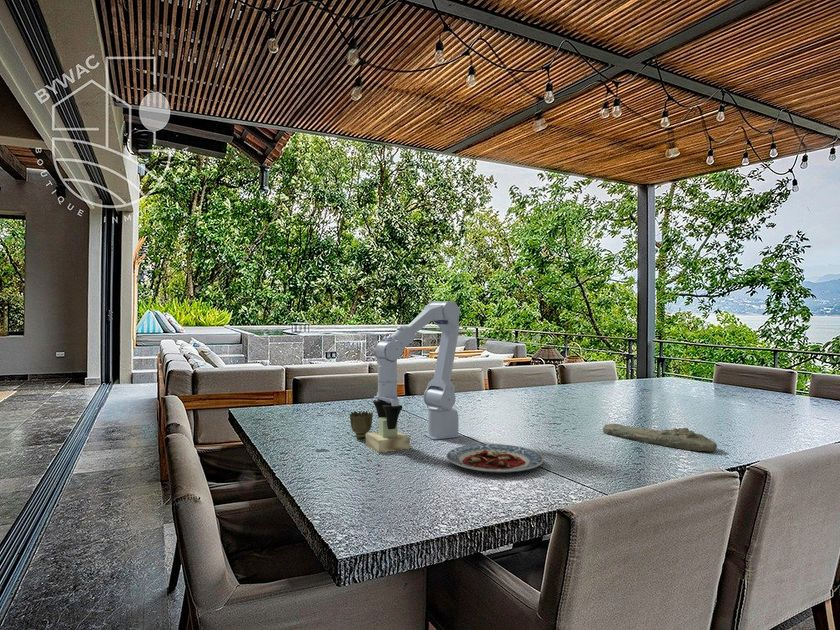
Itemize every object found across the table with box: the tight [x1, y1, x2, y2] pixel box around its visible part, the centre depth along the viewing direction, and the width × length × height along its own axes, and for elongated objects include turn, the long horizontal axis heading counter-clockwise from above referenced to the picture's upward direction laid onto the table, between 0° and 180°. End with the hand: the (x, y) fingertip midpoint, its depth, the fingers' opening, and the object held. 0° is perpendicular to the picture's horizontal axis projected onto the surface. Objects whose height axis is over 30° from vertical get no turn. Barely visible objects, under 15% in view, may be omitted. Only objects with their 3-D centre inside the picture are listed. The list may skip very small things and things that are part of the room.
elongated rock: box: [602, 423, 718, 452], centre depth 166 cm, size 35×5×10 cm
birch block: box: [365, 431, 411, 454], centre depth 159 cm, size 10×10×4 cm
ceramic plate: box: [446, 443, 545, 474], centre depth 142 cm, size 26×26×3 cm
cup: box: [349, 410, 374, 440], centre depth 170 cm, size 8×7×8 cm
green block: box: [378, 417, 399, 437], centre depth 159 cm, size 4×4×5 cm
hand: (387, 426), depth 159 cm, fingers open, 7 cm apart
